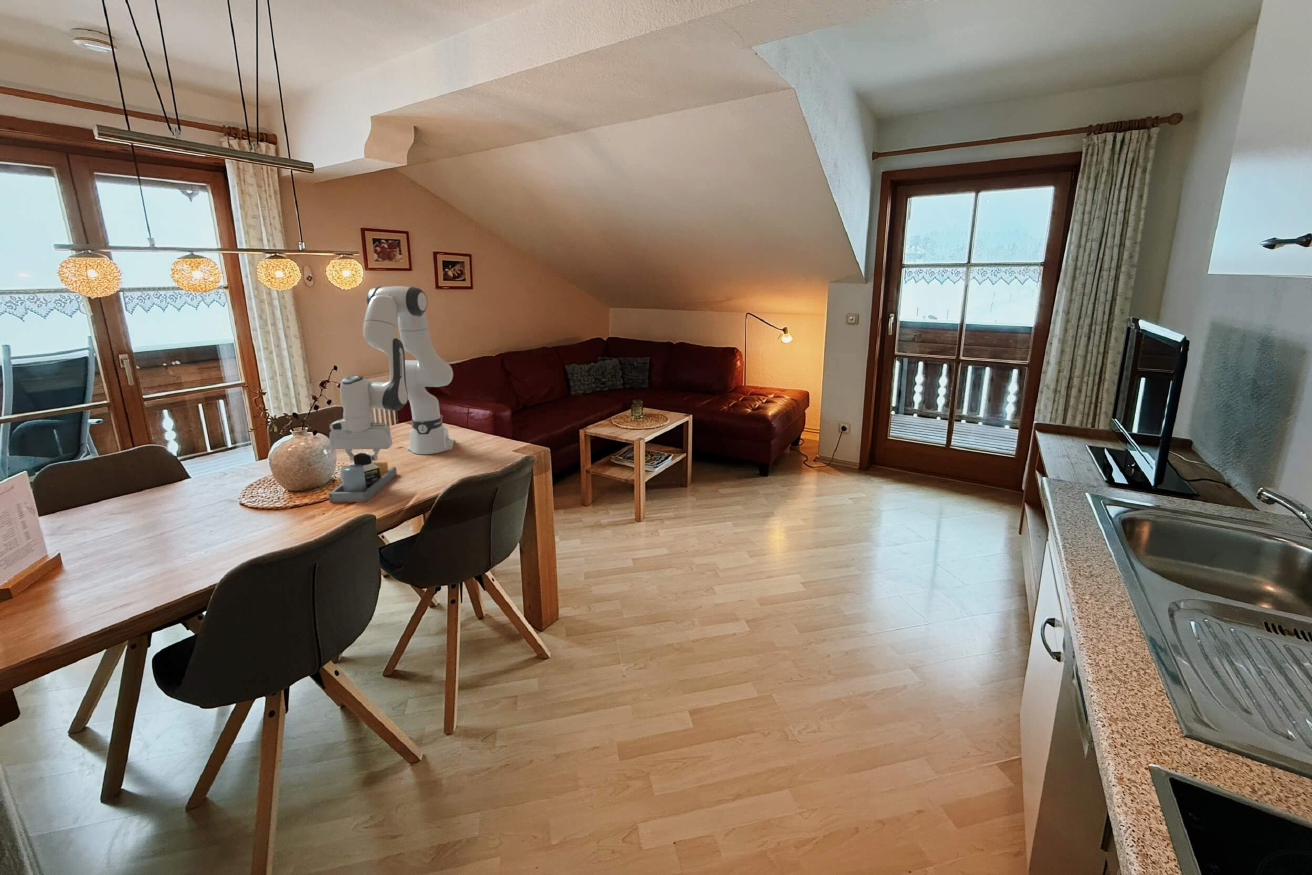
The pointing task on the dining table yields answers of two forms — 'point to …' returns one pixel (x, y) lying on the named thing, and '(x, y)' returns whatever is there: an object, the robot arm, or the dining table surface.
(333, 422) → the robot arm
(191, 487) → the dining table surface
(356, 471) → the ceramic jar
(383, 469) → the block
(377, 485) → the blue-grey tray
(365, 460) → the medicine bottle
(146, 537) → the dining table surface
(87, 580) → the dining table surface
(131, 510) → the dining table surface
